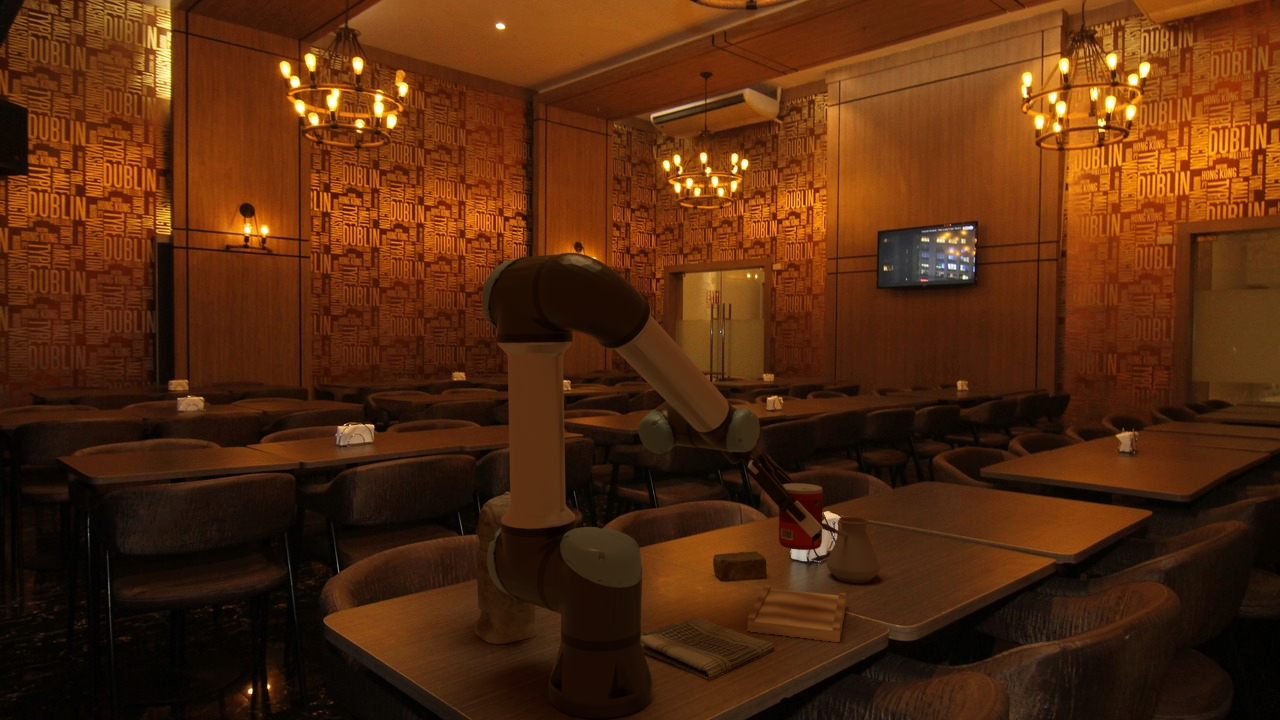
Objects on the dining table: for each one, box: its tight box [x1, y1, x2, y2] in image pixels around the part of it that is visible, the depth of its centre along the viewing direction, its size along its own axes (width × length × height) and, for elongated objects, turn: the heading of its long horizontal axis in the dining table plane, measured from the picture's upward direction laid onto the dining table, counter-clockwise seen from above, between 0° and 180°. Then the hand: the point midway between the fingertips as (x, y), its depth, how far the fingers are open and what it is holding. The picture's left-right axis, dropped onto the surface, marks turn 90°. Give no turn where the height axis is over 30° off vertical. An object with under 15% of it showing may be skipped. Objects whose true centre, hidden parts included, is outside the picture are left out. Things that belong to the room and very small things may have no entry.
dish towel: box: [641, 617, 775, 680], centre depth 132 cm, size 19×18×3 cm
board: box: [746, 584, 847, 643], centre depth 147 cm, size 20×16×3 cm
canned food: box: [778, 482, 824, 551], centre depth 147 cm, size 8×8×11 cm
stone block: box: [712, 551, 768, 582], centre depth 174 cm, size 6×12×5 cm, turn 106°
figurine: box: [474, 491, 539, 645], centre depth 139 cm, size 10×14×25 cm
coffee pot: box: [822, 516, 881, 584], centre depth 170 cm, size 21×12×15 cm, turn 131°
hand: (818, 527), depth 146 cm, fingers closed on canned food, 8 cm apart
